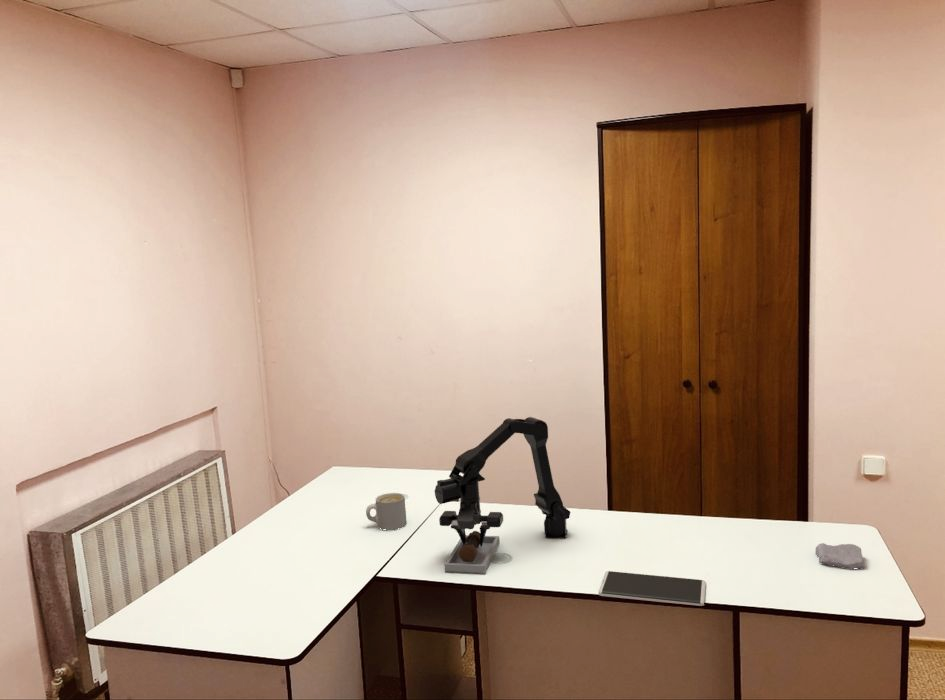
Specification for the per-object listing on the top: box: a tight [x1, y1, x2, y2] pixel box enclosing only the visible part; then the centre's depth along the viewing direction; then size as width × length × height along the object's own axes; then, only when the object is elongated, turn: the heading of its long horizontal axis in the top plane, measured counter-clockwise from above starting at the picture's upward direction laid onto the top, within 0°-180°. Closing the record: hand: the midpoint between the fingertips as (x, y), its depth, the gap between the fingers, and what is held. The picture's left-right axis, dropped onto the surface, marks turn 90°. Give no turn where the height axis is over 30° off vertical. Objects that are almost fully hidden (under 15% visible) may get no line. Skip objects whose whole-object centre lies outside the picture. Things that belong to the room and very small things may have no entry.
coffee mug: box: [365, 492, 407, 531], centre depth 256 cm, size 13×10×10 cm
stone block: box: [815, 542, 865, 570], centre depth 209 cm, size 12×5×10 cm
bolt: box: [458, 530, 480, 562], centre depth 225 cm, size 6×5×15 cm
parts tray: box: [444, 534, 501, 575], centre depth 226 cm, size 12×22×2 cm, turn 167°
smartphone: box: [598, 570, 707, 607], centre depth 199 cm, size 13×27×2 cm, turn 71°
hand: (473, 545), depth 226 cm, fingers closed on bolt, 5 cm apart
